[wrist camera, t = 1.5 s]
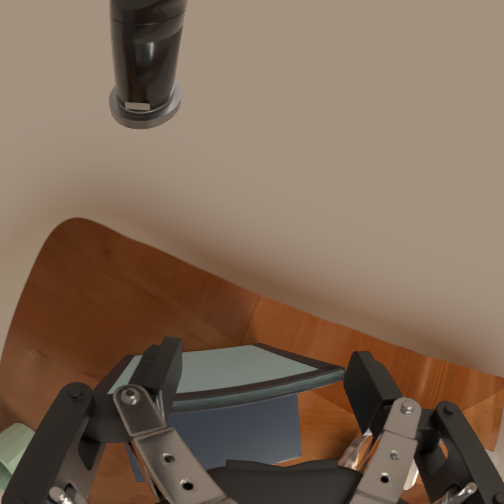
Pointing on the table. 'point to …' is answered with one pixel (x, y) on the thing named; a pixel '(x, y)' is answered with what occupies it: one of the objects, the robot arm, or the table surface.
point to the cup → (12, 450)
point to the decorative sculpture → (351, 459)
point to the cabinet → (239, 433)
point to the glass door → (234, 376)
